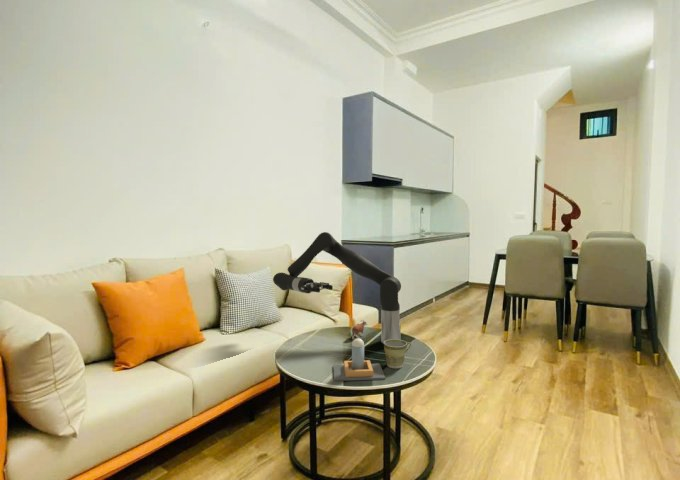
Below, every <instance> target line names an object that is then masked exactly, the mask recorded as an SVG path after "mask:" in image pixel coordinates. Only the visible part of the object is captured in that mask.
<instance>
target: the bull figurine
mask: <svg viewBox="0 0 680 480" xmlns="http://www.w3.org/2000/svg"><path fill="white" fill-rule="evenodd" d="M366 326H368V323H367V321H366V320H364V319H362V320H360V321H359V322H358V323H357V324H356V325H354V326H353V327H352V329H351V334H352V335H351V337H352V338H351V339H352V340H354V339H355V338H354V336H355V337H356V338H359V339H361V338H360V336H361V337H364V336H363V334H364V330H365V327H366Z"/></svg>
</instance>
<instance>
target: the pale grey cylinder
mask: <svg viewBox="0 0 680 480" xmlns="http://www.w3.org/2000/svg"><path fill="white" fill-rule="evenodd" d="M359 338H360V337H359ZM359 338H358V337H356V338H354V339H352V342H351V361H352V370H363V369H364V360H365V343H364V340H363V339H361V338H360V339H359Z"/></svg>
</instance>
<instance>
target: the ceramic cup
mask: <svg viewBox="0 0 680 480" xmlns="http://www.w3.org/2000/svg"><path fill="white" fill-rule="evenodd" d="M408 344H409V347H408V348H407V346H408ZM411 346H412V344H411V342H410V341H405V340H403V339H401V340H399V339H389V340H386V341H384V344H383V348H384V349H383V350H384V355H385V360H386V361H385V362H386V367H389V368H391V369H401V368H403V366H404V364H405V363H404V362H405V355H406V353H407V352H408V351H409V349H411Z"/></svg>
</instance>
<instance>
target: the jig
mask: <svg viewBox="0 0 680 480" xmlns="http://www.w3.org/2000/svg"><path fill="white" fill-rule="evenodd" d="M332 366H333V367H332V369H333V380H334V382H343V381H345V382H346V381H347V382H348V381H374V380H375V381H378V380H386V376H385V373H384V371H383V369H382V367H381V366H382V365H381V363H371V360H370V359H367V360H365V359H364V369H363V370H352V360H344V361H343V364H333V365H332Z"/></svg>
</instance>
